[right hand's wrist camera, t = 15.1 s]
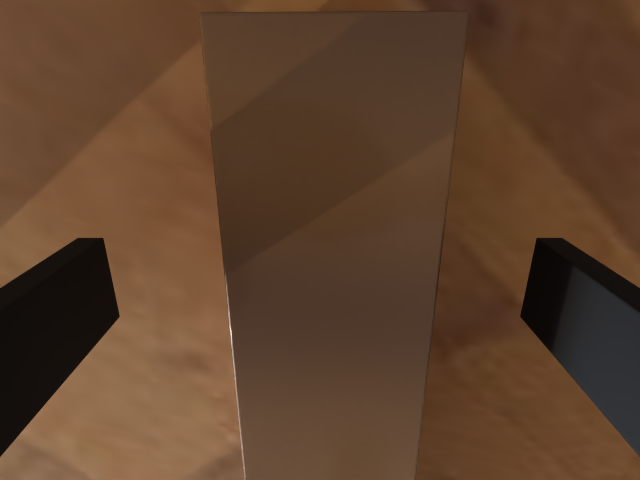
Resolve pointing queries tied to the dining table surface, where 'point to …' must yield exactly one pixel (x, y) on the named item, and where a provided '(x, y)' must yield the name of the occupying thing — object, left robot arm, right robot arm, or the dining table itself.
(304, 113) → the post
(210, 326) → the dining table surface
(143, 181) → the dining table surface
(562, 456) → the dining table surface
